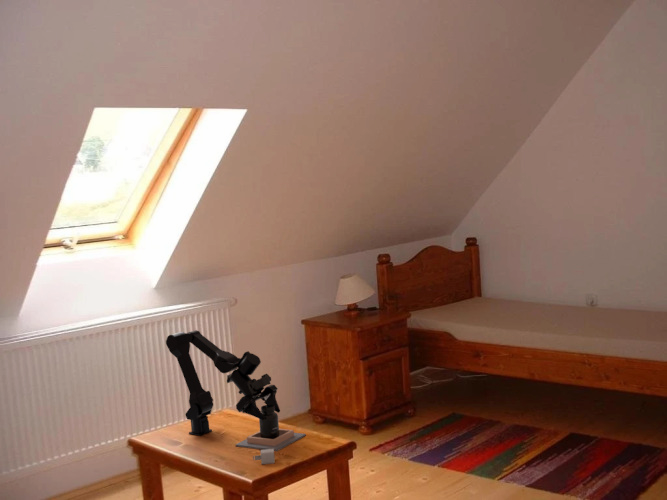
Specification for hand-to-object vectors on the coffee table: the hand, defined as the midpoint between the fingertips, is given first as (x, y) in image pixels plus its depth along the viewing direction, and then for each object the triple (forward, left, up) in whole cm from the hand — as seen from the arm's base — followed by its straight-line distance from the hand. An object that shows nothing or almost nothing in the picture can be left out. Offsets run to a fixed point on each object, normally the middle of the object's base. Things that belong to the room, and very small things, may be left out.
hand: (271, 415), depth 284 cm
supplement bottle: (-2, 0, -9) cm, 9 cm away
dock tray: (-1, 0, -9) cm, 9 cm away
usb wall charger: (+12, -19, -10) cm, 24 cm away
